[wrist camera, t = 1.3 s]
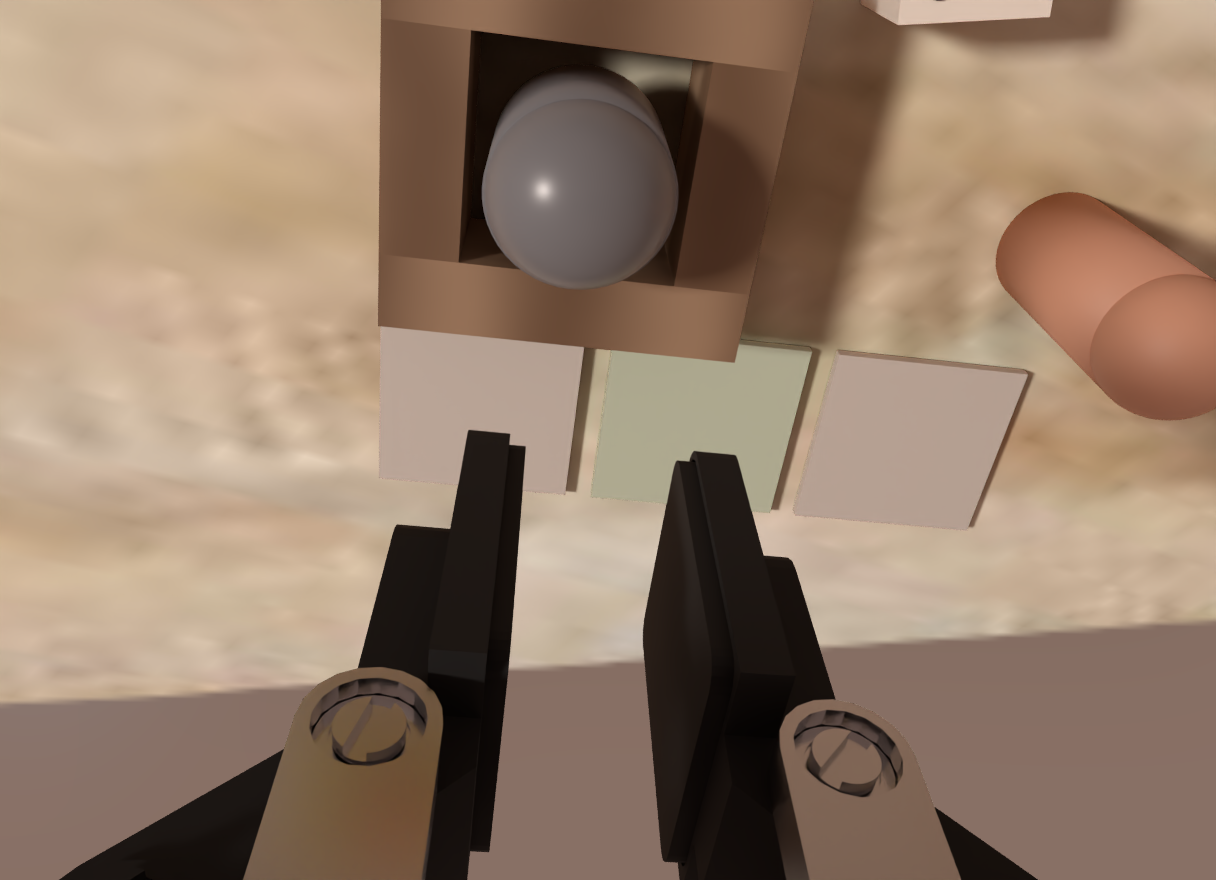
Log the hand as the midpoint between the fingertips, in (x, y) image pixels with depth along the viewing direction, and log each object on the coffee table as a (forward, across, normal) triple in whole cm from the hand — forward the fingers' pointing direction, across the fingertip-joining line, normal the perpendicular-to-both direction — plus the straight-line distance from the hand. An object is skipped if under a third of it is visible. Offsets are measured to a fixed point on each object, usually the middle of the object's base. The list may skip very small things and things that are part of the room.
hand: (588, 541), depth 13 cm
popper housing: (+21, 0, 0) cm, 21 cm away
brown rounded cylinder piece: (+21, -16, +2) cm, 27 cm away
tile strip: (+21, -6, +10) cm, 24 cm away
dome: (+18, 0, 0) cm, 18 cm away
